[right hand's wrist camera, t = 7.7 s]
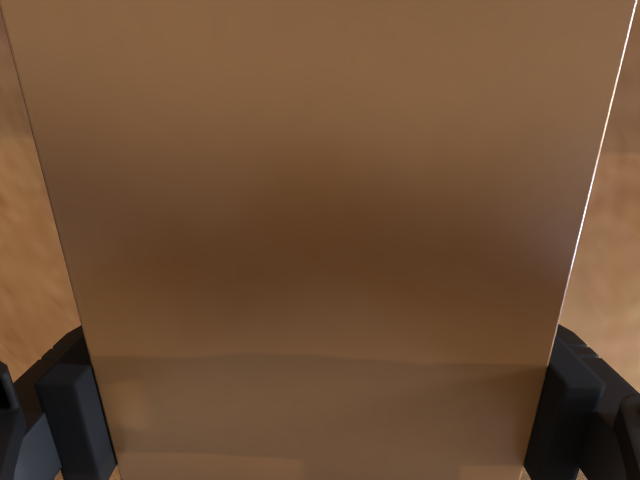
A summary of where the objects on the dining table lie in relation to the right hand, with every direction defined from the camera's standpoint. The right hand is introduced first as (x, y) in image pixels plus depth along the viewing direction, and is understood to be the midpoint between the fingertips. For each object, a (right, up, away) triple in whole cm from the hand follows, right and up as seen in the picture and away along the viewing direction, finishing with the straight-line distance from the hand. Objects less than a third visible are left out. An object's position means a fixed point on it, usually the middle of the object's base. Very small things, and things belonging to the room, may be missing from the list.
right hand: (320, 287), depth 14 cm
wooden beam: (0, +19, -6) cm, 20 cm away
